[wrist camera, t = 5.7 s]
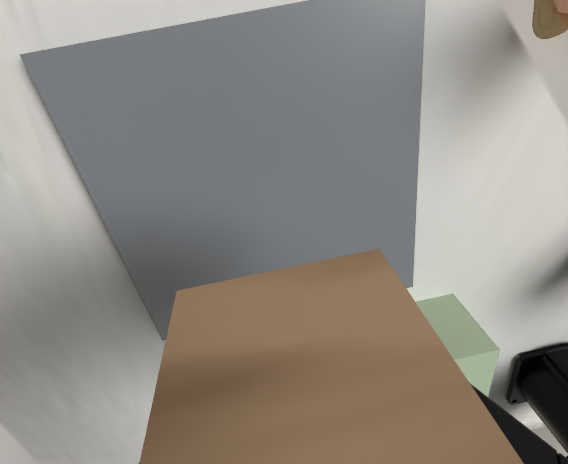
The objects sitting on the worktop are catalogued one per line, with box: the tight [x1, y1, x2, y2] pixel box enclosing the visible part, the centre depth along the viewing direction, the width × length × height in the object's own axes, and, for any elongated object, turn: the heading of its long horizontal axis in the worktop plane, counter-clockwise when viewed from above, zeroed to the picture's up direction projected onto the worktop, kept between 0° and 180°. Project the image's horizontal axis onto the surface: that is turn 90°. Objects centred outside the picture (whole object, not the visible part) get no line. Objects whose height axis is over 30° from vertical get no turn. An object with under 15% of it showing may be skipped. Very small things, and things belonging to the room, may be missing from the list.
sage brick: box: [416, 294, 499, 397], centre depth 23 cm, size 5×5×5 cm
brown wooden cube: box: [140, 249, 524, 464], centre depth 8 cm, size 5×5×5 cm
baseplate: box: [20, 0, 425, 340], centre depth 18 cm, size 16×16×1 cm
